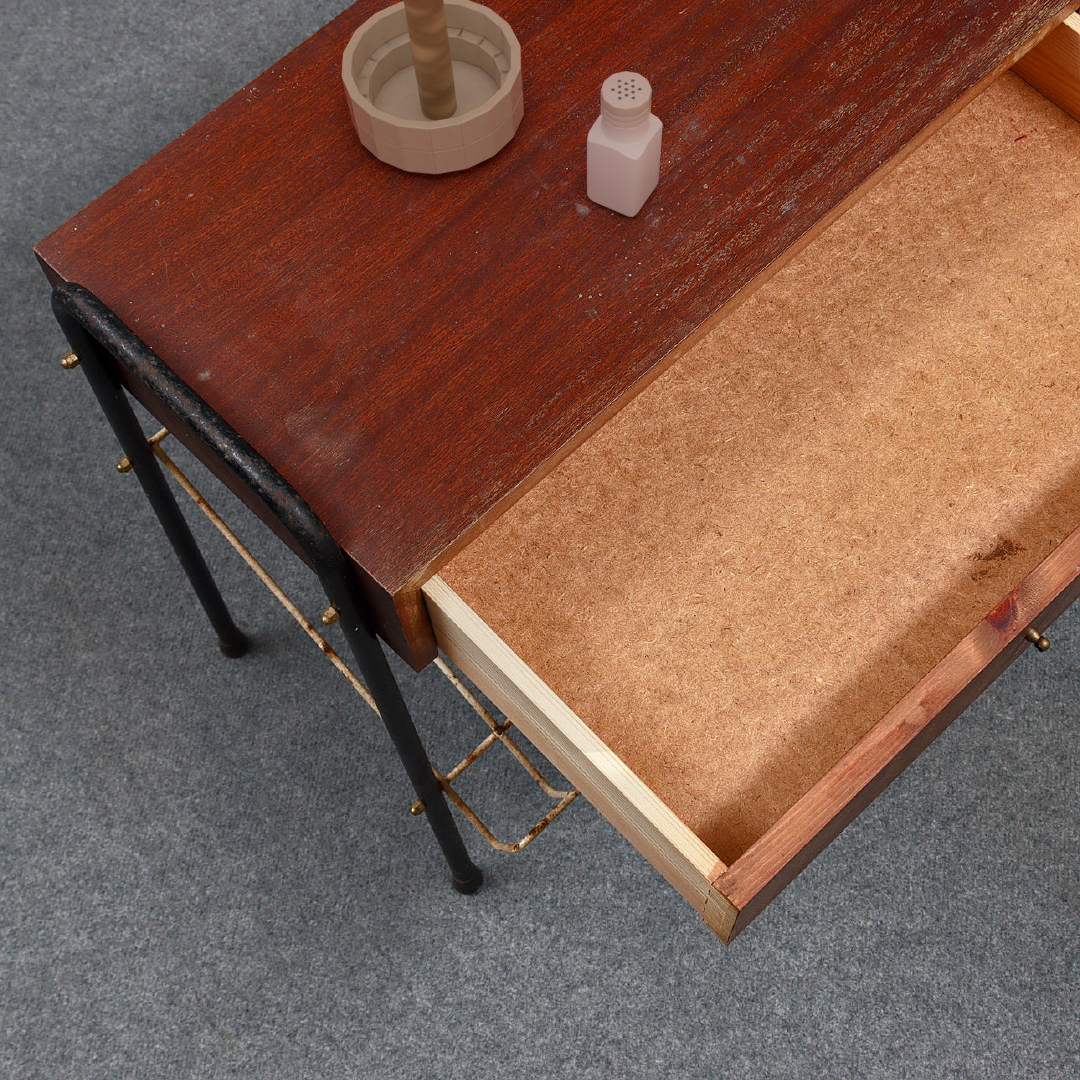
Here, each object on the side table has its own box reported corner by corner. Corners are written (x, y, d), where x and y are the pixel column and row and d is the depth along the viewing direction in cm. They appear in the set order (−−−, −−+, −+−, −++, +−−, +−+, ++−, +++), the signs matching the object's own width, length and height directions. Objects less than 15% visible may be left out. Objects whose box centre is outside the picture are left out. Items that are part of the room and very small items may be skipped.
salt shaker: (611, 162, 89) (614, 57, 81) (661, 183, 88) (669, 79, 80) (583, 201, 88) (583, 99, 79) (634, 223, 87) (639, 122, 78)
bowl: (349, 183, 89) (337, 132, 85) (358, 53, 95) (346, -2, 90) (525, 177, 89) (521, 125, 85) (523, 46, 95) (519, -9, 90)
